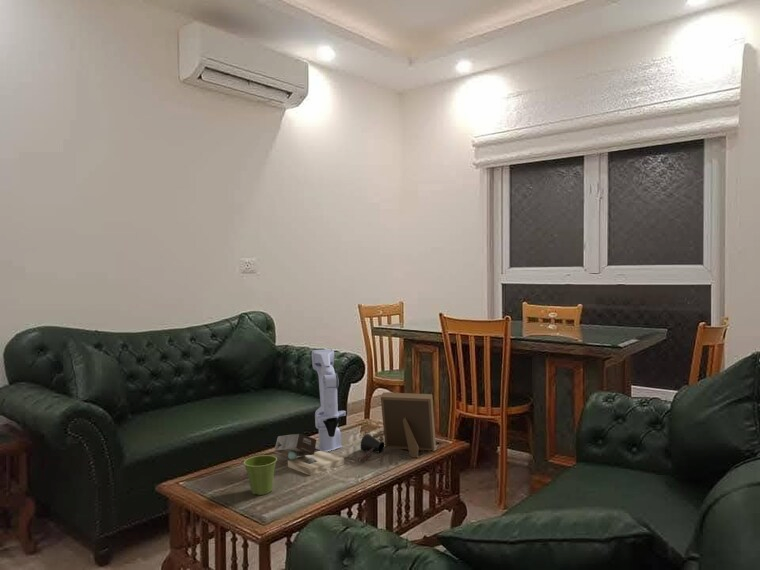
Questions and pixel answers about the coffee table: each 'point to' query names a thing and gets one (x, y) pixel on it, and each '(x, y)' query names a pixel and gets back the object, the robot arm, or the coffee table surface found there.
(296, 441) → the coffee box
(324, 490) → the coffee table surface
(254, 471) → the plant pot
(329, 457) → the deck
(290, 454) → the teal ball
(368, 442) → the coffee pot
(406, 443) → the photo frame
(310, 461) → the ball
